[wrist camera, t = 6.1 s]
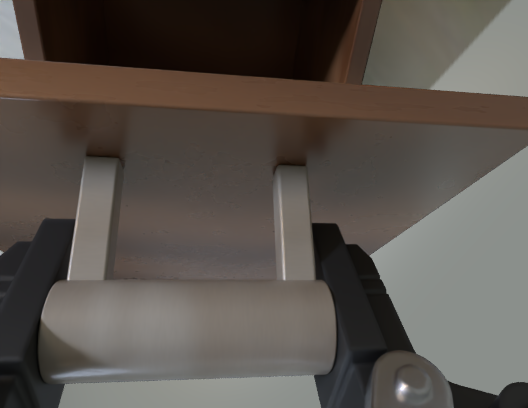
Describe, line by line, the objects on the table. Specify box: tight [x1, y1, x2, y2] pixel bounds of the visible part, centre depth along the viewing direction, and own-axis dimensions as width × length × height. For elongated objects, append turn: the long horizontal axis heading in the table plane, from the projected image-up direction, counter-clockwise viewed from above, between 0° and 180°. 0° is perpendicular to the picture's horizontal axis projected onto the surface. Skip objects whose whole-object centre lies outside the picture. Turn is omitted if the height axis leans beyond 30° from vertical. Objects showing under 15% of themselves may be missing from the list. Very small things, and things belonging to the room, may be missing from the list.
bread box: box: [12, 0, 382, 85], centre depth 24 cm, size 17×14×12 cm
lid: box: [0, 58, 528, 384], centre depth 15 cm, size 17×14×5 cm
